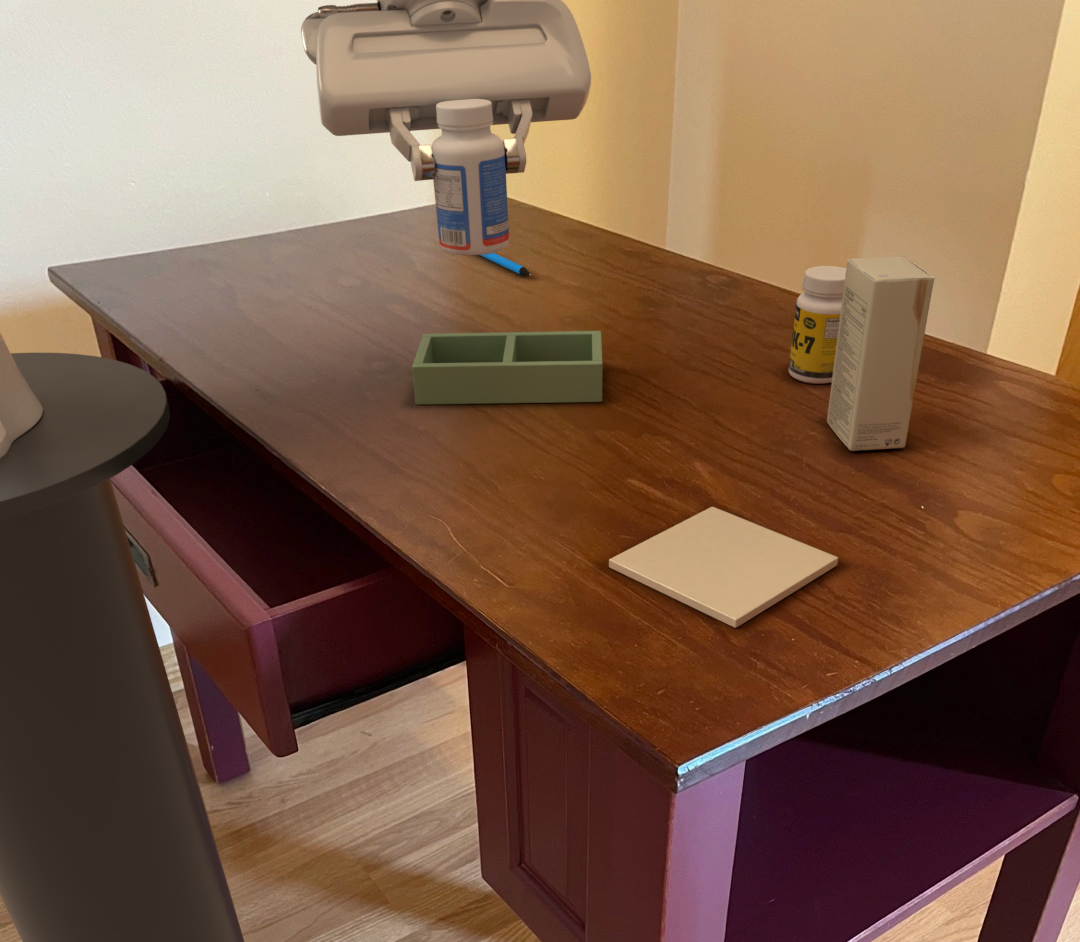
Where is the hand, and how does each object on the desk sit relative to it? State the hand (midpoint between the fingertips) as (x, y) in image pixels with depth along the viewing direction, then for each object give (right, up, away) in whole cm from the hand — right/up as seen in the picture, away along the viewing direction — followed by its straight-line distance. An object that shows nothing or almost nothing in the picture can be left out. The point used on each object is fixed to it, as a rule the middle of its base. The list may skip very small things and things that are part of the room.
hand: (471, 171), depth 79 cm
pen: (-1, +12, +44) cm, 45 cm away
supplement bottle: (+29, -11, +13) cm, 33 cm away
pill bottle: (0, -4, +4) cm, 6 cm away
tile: (+16, -31, -12) cm, 37 cm away
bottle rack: (+3, -12, +13) cm, 18 cm away
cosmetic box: (+30, -19, +3) cm, 35 cm away
